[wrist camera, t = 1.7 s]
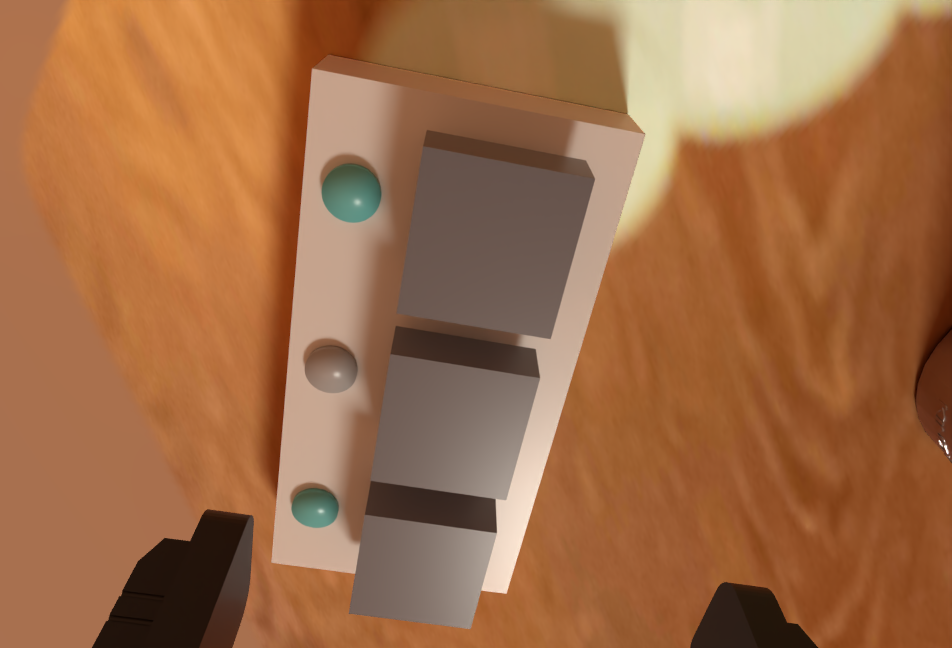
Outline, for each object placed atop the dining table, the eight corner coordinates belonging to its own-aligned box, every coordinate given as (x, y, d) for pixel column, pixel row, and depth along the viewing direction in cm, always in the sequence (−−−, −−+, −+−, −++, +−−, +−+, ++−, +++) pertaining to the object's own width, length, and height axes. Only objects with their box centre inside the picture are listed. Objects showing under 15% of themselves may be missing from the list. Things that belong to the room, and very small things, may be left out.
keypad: (328, 54, 26) (310, 70, 23) (628, 114, 27) (647, 136, 24) (286, 516, 36) (270, 567, 33) (503, 546, 37) (506, 598, 34)
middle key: (395, 325, 26) (390, 353, 24) (535, 348, 27) (540, 377, 25) (376, 447, 29) (370, 480, 27) (504, 466, 29) (505, 500, 28)
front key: (426, 129, 23) (422, 146, 21) (585, 160, 23) (595, 178, 22) (401, 287, 26) (396, 313, 24) (545, 311, 26) (550, 339, 24)
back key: (371, 480, 30) (364, 514, 28) (495, 498, 30) (497, 533, 28) (355, 576, 32) (349, 613, 31) (470, 591, 33) (470, 628, 31)
